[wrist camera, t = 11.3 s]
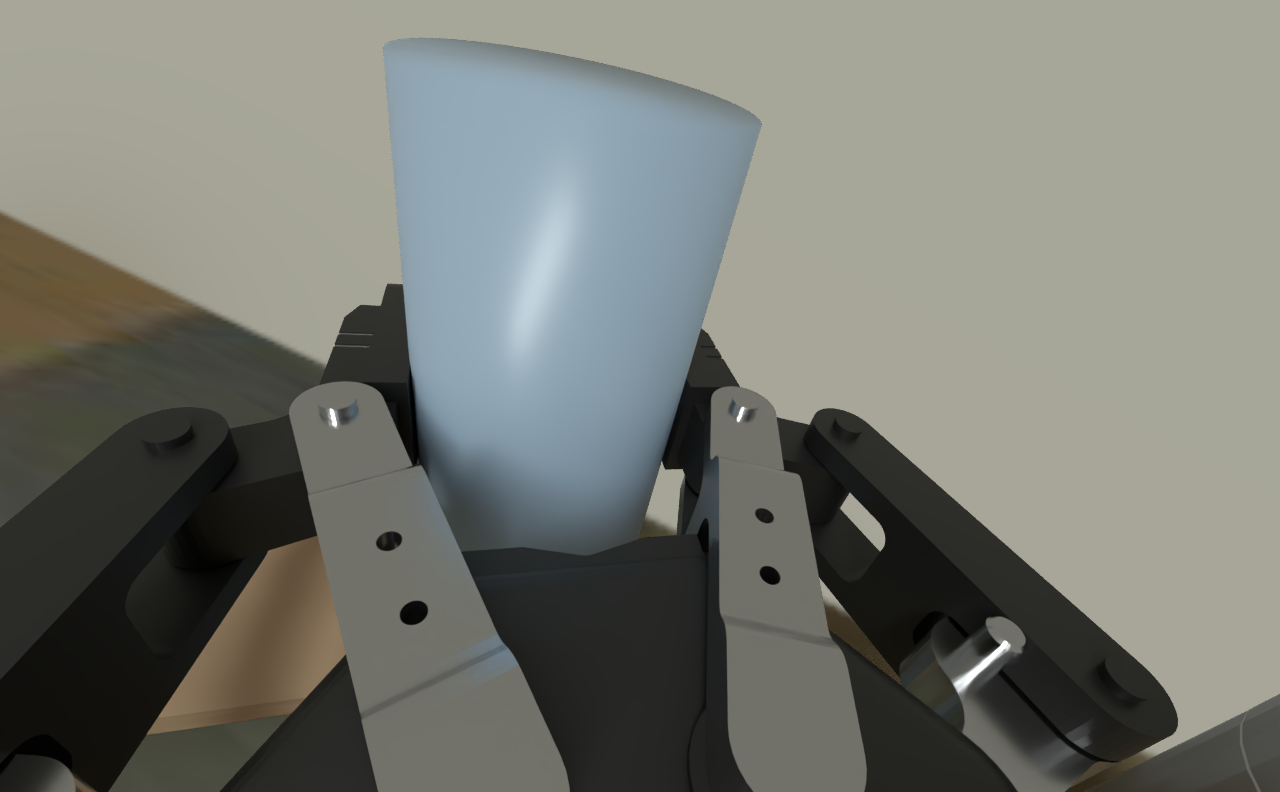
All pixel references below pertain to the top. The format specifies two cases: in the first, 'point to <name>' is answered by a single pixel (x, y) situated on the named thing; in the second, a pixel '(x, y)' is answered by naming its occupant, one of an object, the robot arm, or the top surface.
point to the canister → (553, 279)
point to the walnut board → (263, 646)
